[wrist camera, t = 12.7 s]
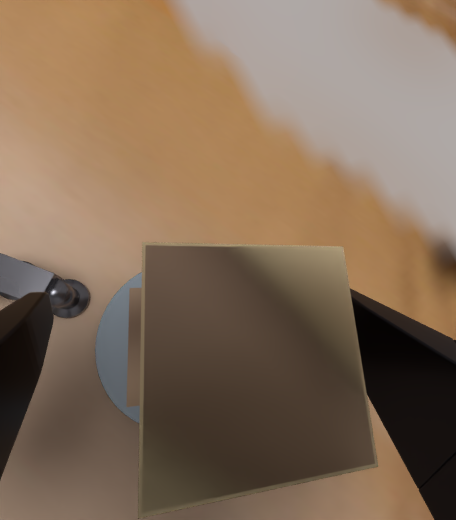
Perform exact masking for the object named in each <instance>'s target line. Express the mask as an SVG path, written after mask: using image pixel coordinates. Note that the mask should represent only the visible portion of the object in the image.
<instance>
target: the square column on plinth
mask: <svg viewBox="0 0 456 520" xmlns="http://www.w3.org/2000/svg"><path fill="white" fill-rule="evenodd" d="M132 406H140V415H139V477H138V519H139V518H144V517H148V516H153V515H158V514H162V513H167V512H171V511H176V510H181V509H185V508H190V507H194V506H199V505H204V504H208V503H213V502H217V501H222V500H227V499H231V498H236V497H240V496H245V495H250V494H254V493H259V492H263V491H268V490H273V489H277V488H282V487H286V486H291V485H296V484H300V483H305V482H309V481H314V480H319V479H323V478H328V477H332V476H337V475H342V474H346V473H351V472H355V471H360V470H365V469H369V468H374V467H378V462H377V455H376V449H375V443H374V437H373V430H372V424H371V418H370V412H369V405H368V399H367V393H366V387H365V380H364V374H363V368H362V362H361V355H360V349H359V343H358V336H357V330H356V324H355V318H354V311H353V305H352V299H351V293H350V286H349V280H348V274H347V268H346V261H345V255H344V249H343V247H337V246H292V245H247V244H202V243H157V242H142V288H130V289H129V327H128V366H127V404H126V407H132Z"/></svg>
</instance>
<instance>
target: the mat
mask: <svg viewBox="0 0 456 520" xmlns="http://www.w3.org/2000/svg"><path fill="white" fill-rule="evenodd" d="M130 288H142V272H141V273H139V274H138V275H136V276H135V277H133V278H132V279H130V280H129V281H128V282H127V283H126V284H125V285H124V286H122V287H121V288H120V290H119V291H118V292H117V293H116V294H115V295H114V297H113V298H112V300H111V301H110V303H109V304H108V306H107V308H106V310H105V312H104V314H103V316H102V318H101V321H100V324H99V327H98V332H97V337H96V347H95V355H96V365H97V370H98V374H99V377H100V380H101V383H102V385H103V387H104V389H105V391H106V393H107V395H108V396H109V398H110V399H111V400H112V402H113V403H114V404H115V406H116V407H118V408H119V409H120V410H121V411H122V412H123V413H124V414H125V415H126V416H128V417H129V418H131V419H132V420H133V421H135V422H137V423H139V415H140V406H132V407H126V404H127V366H128V327H129V289H130Z"/></svg>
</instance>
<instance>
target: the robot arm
mask: <svg viewBox="0 0 456 520" xmlns="http://www.w3.org/2000/svg"><path fill="white" fill-rule="evenodd" d="M350 293H351V299H352V305H353V311H354V318H355V324H356V330H357V336H358V343H359V349H360V355H361V362H362V368H363V374H364V380H365V387H366V393H367V395H368V397H369V399H370V401H371V403H372V404H373V406H374V408H375V410H376V412H377V414H378V415H379V417H380V419H381V421H382V423H383V425H384V427H385V428H386V430H387V432H388V434H389V436H390V438H391V440H392V441H393V443H394V445H395V447H396V449H397V451H398V453H399V454H400V456H401V458H402V460H403V462H404V464H405V466H406V467H407V469H408V471H409V473H410V475H411V477H412V478H413V480H414V482H415V484H416V486H417V488H419V492H420V494H421V496H422V497H423V499H424V501H425V503H426V505H427V507H428V509H429V510H430V512H431V514H432V516H433V518H434V520H456V340H453V339H452V338H450V337H448V336H446V335H444V334H442V333H440V332H438V331H436V330H434V329H432V328H430V327H428V326H426V325H423V324H421V323H419V322H417V321H415V320H413V319H411V318H409V317H407V316H405V315H403V314H401V313H399V312H397V311H395V310H393V309H391V308H389V307H387V306H385V305H383V304H381V303H379V302H377V301H375V300H373V299H371V298H369V297H366V296H364V295H362V294H360V293H358V292H356V291H354V290H352V289H350ZM52 325H53V311H52V306H51V302H50V297H49V294H48V293H47V292H30V293H28V294H26V295H24V296H23V297H21V298H20V299H18V300H16V301H15V302H13V303H12V304H10V305H8V306H7V307H5V308H4V309H2V310H1V311H0V479H1V477H2V474H3V471H4V469H5V466H6V464H7V461H8V458H9V456H10V453H11V450H12V448H13V445H14V443H15V440H16V437H17V435H18V432H19V429H20V427H21V424H22V422H23V419H24V416H25V414H26V411H27V408H28V406H29V403H30V401H31V398H32V395H33V393H34V390H35V387H36V385H37V382H38V379H39V376H40V374H41V370H42V366H43V362H44V358H45V354H46V350H47V346H48V342H49V338H50V334H51V329H52Z"/></svg>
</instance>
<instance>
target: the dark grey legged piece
mask: <svg viewBox="0 0 456 520" xmlns="http://www.w3.org/2000/svg"><path fill="white" fill-rule="evenodd" d="M30 292H47V293H48V294H49V297H50V302H51V306H52V311H53V314H54V315H56V316H58V317H63V318H72V317H75V316H78V315H80V314H81V313H82V312H83V311H84V310H85V309H86V308H87V306H88V304H89V301H90V294H89V291H88V289H87V288H86V287H85V286H84V285H83V284H82V283H80V282H79V281H76V280H71V279H67V280H64V279H62V278H61V277H59V276H58V275H56V274H54V273H52V272H49V271H47V270H44V269H41V268H39V267H36V266H34V265H32V264H31V263H28V262H25V261H20V260H17V259H15V258H12V257H9V256H7V255H4V254H1V253H0V295H1V296H3V297H5V298H7V299H11V300H18V299H20V298H21V297H23V296H24V295H26V294H28V293H30Z"/></svg>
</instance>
